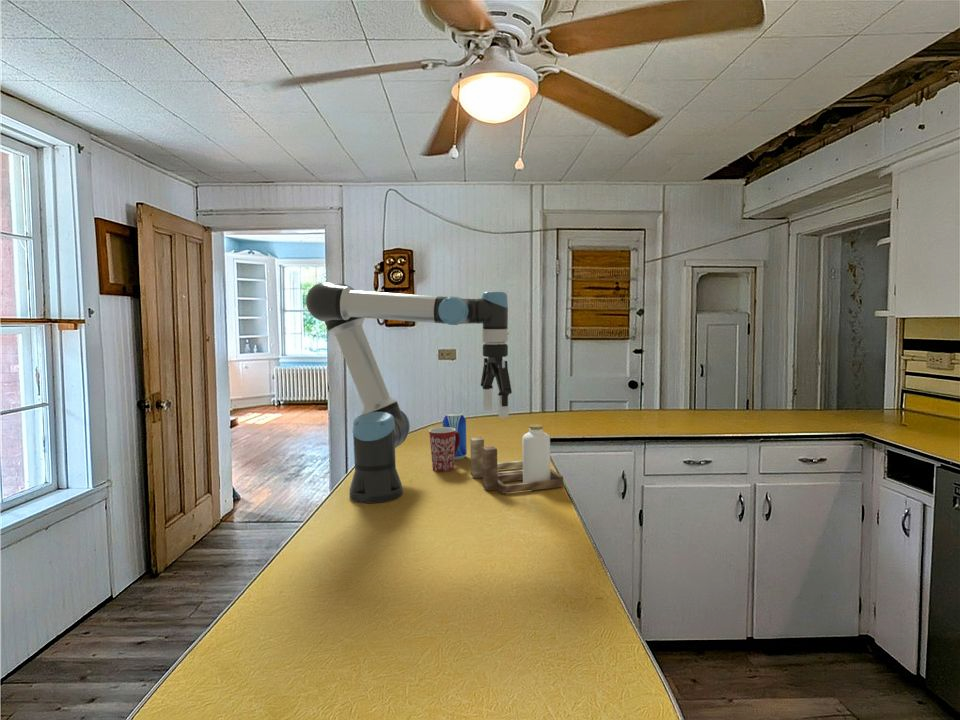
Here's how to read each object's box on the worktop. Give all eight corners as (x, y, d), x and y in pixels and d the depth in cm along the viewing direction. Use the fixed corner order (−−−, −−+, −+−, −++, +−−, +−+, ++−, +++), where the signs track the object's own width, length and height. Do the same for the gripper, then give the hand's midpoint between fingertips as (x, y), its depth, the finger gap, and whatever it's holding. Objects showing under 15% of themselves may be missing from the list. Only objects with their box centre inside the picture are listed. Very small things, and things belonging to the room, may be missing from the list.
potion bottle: (541, 490, 166) (540, 429, 165) (517, 485, 171) (516, 426, 170) (555, 483, 173) (555, 424, 171) (532, 478, 178) (531, 422, 176)
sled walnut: (490, 494, 162) (489, 453, 161) (479, 483, 173) (478, 444, 172) (563, 486, 168) (562, 446, 167) (547, 475, 179) (546, 438, 178)
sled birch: (477, 481, 175) (476, 443, 174) (467, 471, 186) (466, 435, 185) (545, 474, 181) (545, 437, 180) (531, 465, 192) (531, 430, 191)
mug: (443, 474, 185) (442, 433, 184) (424, 469, 191) (423, 430, 190) (469, 466, 195) (468, 427, 194) (450, 462, 201) (449, 424, 200)
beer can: (466, 460, 203) (465, 415, 202) (442, 460, 203) (441, 416, 202) (467, 454, 211) (466, 412, 210) (444, 454, 211) (443, 412, 210)
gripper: (523, 345, 160) (523, 419, 161) (492, 341, 183) (492, 406, 185) (498, 345, 157) (498, 421, 159) (470, 341, 181) (471, 407, 183)
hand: (495, 413), depth 172 cm, fingers open, 13 cm apart
